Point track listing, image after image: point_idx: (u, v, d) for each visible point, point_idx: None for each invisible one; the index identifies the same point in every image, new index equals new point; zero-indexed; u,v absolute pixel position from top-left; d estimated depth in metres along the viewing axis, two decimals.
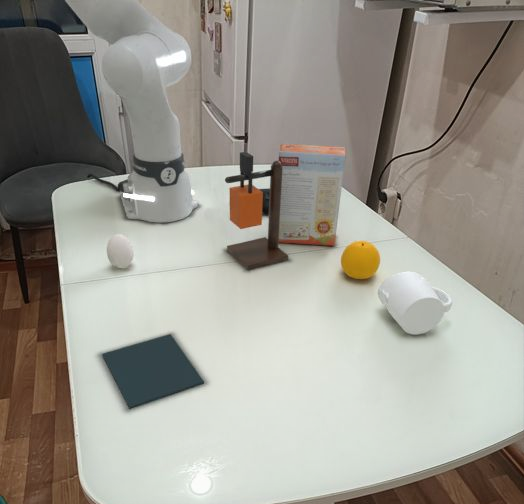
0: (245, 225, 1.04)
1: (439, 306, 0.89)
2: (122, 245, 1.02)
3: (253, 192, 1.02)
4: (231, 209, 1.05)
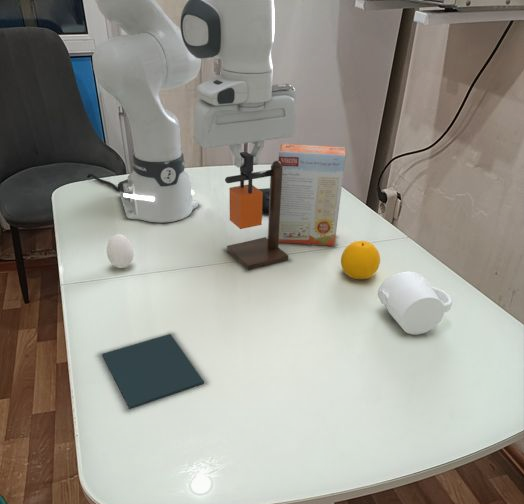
0: (245, 225, 1.04)
1: (439, 306, 0.89)
2: (122, 245, 1.02)
3: (253, 192, 1.02)
4: (231, 209, 1.05)
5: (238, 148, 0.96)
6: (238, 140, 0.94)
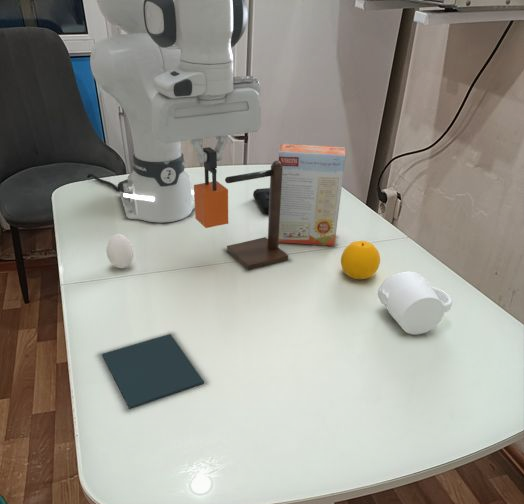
0: (210, 224, 1.00)
1: (439, 306, 0.89)
2: (122, 245, 1.02)
3: (218, 189, 0.97)
4: (196, 207, 1.01)
5: (200, 143, 0.91)
6: (199, 135, 0.90)
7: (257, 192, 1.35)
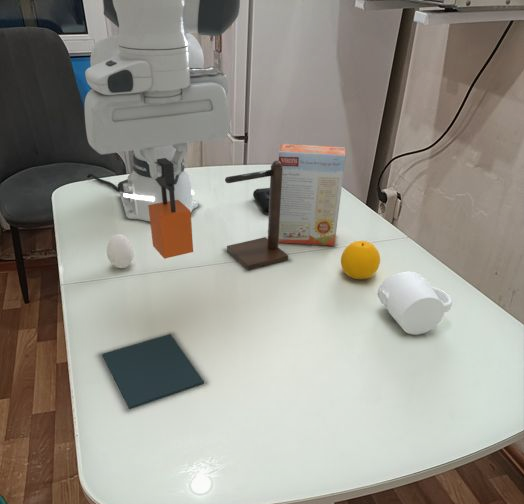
0: (170, 253, 0.80)
1: (439, 306, 0.89)
2: (122, 245, 1.02)
3: (177, 211, 0.77)
4: (153, 232, 0.81)
5: (151, 154, 0.72)
6: (148, 143, 0.70)
7: (257, 192, 1.35)
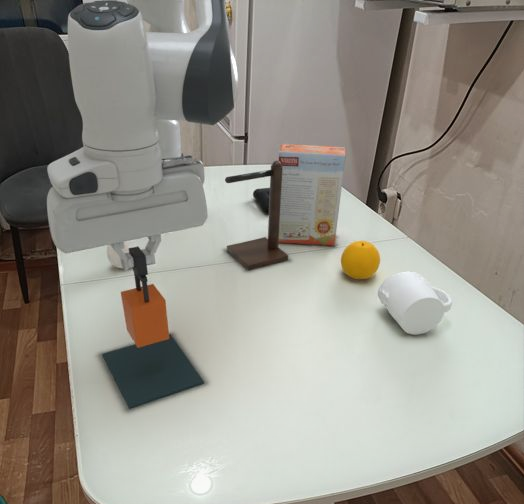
0: (143, 342, 0.75)
1: (439, 306, 0.89)
2: None
3: (151, 300, 0.72)
4: (126, 319, 0.76)
5: (121, 247, 0.67)
6: (117, 238, 0.65)
7: (257, 192, 1.35)
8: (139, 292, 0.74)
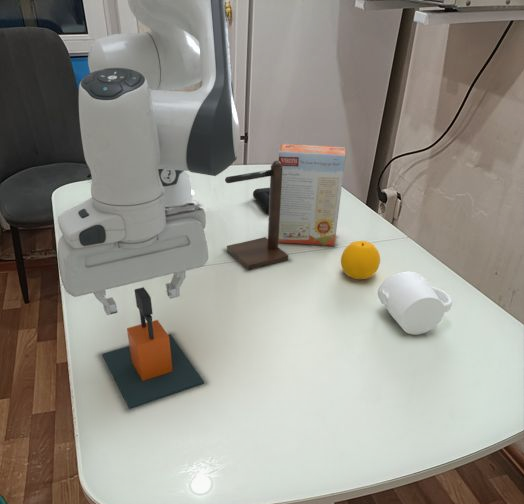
0: (148, 376, 0.79)
1: (439, 306, 0.89)
2: None
3: (156, 337, 0.77)
4: (131, 353, 0.80)
5: (102, 295, 0.69)
6: (123, 281, 0.69)
7: (257, 192, 1.35)
8: (144, 328, 0.78)
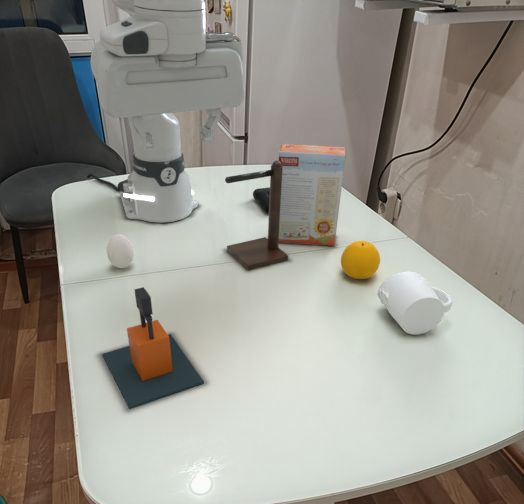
0: (148, 376, 0.79)
1: (439, 306, 0.89)
2: (122, 245, 1.02)
3: (156, 337, 0.77)
4: (131, 353, 0.80)
5: (140, 122, 0.69)
6: (161, 108, 0.69)
7: (257, 192, 1.35)
8: (144, 328, 0.78)
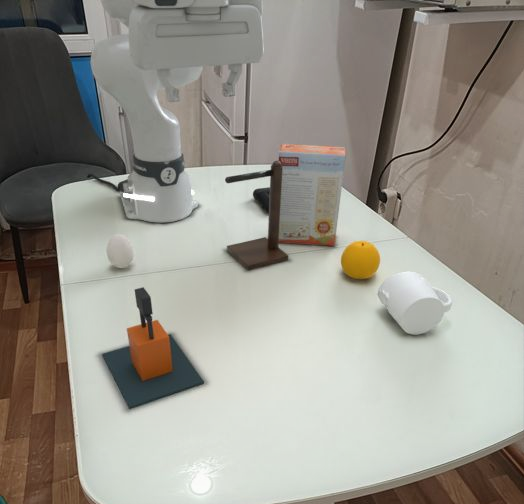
0: (148, 376, 0.79)
1: (439, 306, 0.89)
2: (122, 245, 1.02)
3: (156, 337, 0.77)
4: (131, 353, 0.80)
5: (167, 75, 0.74)
6: (187, 61, 0.73)
7: (257, 192, 1.35)
8: (144, 328, 0.78)
